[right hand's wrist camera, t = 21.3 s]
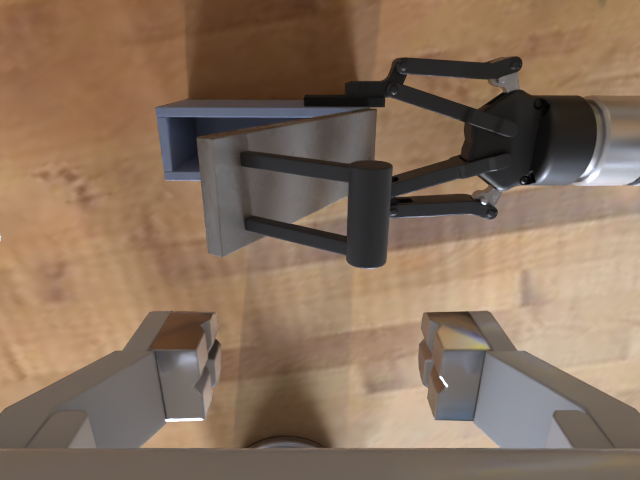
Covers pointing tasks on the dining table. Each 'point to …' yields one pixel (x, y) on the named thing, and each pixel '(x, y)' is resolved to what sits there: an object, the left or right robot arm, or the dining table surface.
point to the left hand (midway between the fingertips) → (305, 140)
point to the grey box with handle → (297, 185)
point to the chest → (220, 125)
